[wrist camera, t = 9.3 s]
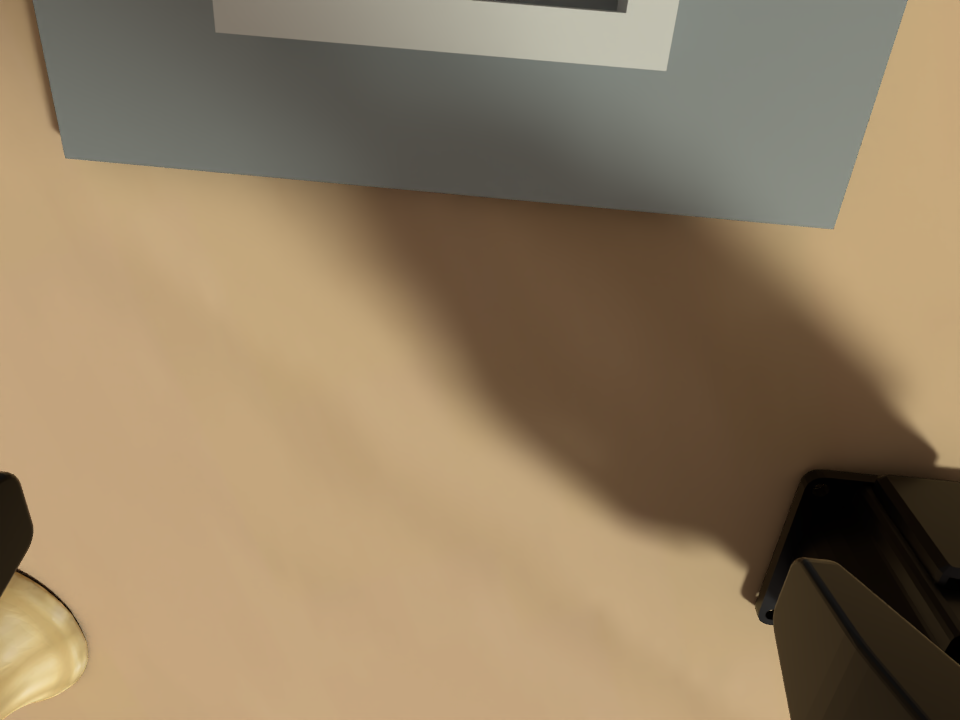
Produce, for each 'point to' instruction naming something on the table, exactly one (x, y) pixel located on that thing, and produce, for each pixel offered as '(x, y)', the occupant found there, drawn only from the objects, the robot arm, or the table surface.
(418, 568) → the table surface
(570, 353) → the table surface
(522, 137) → the socket board
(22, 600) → the hand bell
